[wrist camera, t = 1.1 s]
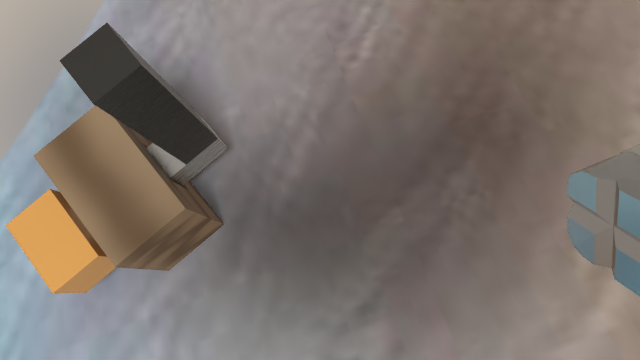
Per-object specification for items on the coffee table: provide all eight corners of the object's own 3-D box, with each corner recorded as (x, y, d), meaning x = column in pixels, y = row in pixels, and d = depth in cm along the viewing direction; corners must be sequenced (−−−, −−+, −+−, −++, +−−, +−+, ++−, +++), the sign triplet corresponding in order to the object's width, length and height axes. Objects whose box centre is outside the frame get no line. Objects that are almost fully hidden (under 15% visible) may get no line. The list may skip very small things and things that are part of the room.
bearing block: (155, 138, 49) (101, 101, 39) (223, 224, 47) (185, 208, 37) (101, 181, 48) (33, 155, 39) (168, 270, 46) (114, 267, 37)
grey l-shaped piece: (205, 120, 44) (107, 22, 28) (228, 148, 44) (141, 64, 27) (47, 250, 43) (-153, 229, 27) (68, 280, 43) (-123, 278, 26)
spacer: (82, 198, 44) (49, 189, 40) (126, 258, 43) (98, 255, 38) (42, 231, 44) (5, 225, 40) (86, 292, 43) (52, 293, 38)
